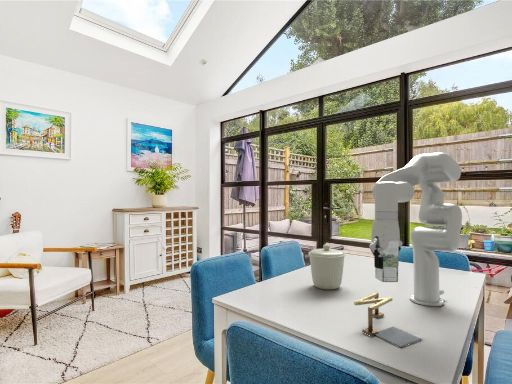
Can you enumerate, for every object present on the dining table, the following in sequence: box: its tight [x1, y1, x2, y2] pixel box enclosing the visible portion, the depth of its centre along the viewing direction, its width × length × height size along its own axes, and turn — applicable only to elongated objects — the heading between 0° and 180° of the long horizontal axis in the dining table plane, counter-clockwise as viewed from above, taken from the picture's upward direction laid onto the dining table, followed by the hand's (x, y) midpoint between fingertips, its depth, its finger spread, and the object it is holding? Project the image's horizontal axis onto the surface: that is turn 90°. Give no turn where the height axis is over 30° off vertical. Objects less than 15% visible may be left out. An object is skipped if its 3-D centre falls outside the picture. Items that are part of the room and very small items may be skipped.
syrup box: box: [374, 240, 399, 283], centre depth 108 cm, size 6×6×14 cm
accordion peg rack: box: [353, 291, 393, 337], centre depth 108 cm, size 18×13×8 cm
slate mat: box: [375, 326, 422, 348], centre depth 97 cm, size 10×10×1 cm
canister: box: [307, 243, 347, 291], centre depth 152 cm, size 18×18×21 cm
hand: (386, 266), depth 108 cm, fingers closed on syrup box, 7 cm apart
